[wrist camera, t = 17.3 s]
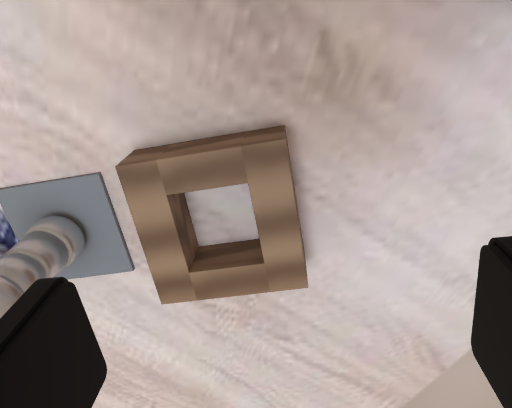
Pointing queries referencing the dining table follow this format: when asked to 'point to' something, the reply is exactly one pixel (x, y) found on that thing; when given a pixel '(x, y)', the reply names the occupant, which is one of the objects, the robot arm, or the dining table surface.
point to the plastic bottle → (38, 256)
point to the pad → (79, 211)
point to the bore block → (180, 225)
